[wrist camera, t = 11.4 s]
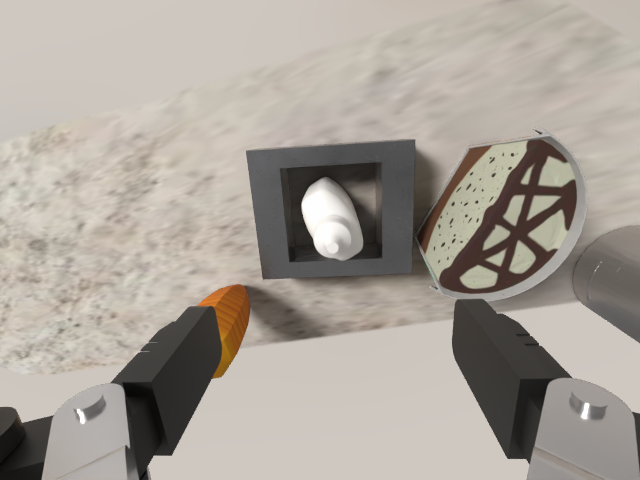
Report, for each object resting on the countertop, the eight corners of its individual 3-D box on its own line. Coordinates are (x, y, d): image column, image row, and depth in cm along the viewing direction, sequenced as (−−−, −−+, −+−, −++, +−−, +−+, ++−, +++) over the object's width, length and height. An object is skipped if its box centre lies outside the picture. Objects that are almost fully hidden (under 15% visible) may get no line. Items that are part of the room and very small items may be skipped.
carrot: (216, 304, 34) (129, 428, 19) (218, 262, 32) (126, 362, 18) (262, 312, 34) (209, 441, 19) (267, 269, 32) (213, 376, 18)
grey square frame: (404, 139, 28) (415, 139, 24) (402, 256, 31) (411, 273, 27) (257, 148, 28) (245, 150, 25) (271, 262, 32) (262, 279, 28)
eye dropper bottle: (354, 173, 29) (368, 197, 17) (357, 232, 30) (372, 289, 19) (307, 177, 29) (289, 203, 18) (312, 235, 31) (300, 293, 19)
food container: (459, 276, 31) (514, 336, 22) (405, 250, 31) (437, 300, 21) (538, 161, 28) (644, 174, 18) (478, 129, 27) (556, 125, 18)
